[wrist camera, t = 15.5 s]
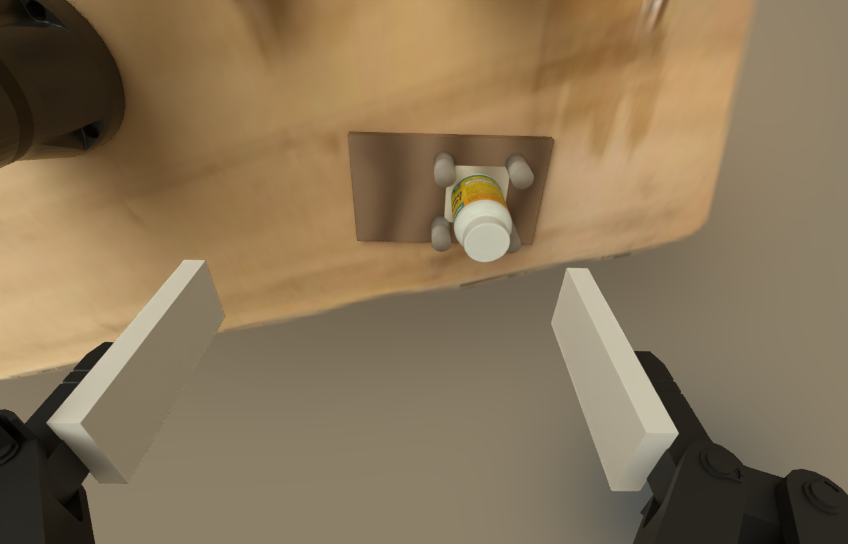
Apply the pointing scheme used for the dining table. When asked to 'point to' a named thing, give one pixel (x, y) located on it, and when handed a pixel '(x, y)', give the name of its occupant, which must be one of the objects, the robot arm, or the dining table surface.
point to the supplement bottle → (481, 217)
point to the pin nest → (441, 182)
